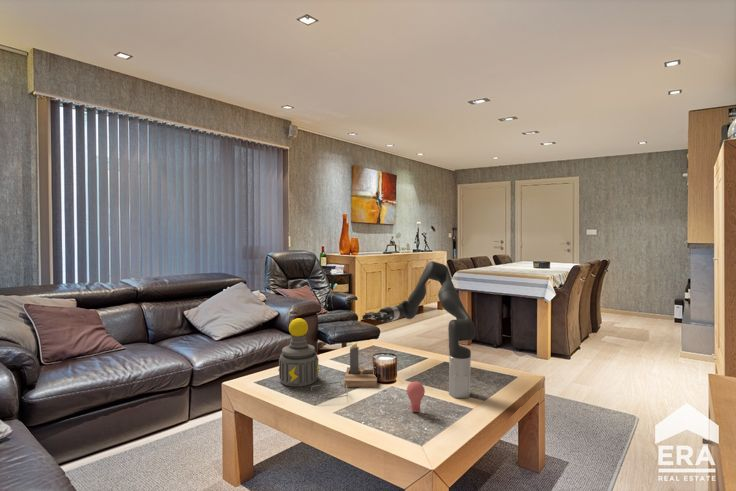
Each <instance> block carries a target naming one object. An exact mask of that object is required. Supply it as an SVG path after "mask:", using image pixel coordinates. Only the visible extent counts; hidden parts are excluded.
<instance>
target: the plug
mask: <svg viewBox="0 0 736 491" xmlns="http://www.w3.org/2000/svg"><path fill="white" fill-rule="evenodd" d="M349 348H350V349H349V353H350V354H349V367H350V374H359V367H360V360H359V359H360V352H359V351H360V347H359V346H358V343H356V342H354V343H353V342H352V344H351V346H350V347H349Z"/></svg>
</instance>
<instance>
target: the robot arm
mask: <svg viewBox="0 0 736 491" xmlns="http://www.w3.org/2000/svg"><path fill="white" fill-rule="evenodd" d="M429 280H432V281H436V282H439V283H440V286H441V287H440V289H439V291H438V295H437V297H438V299H439V302H440V305H441V307H442V308H443V309H444V310H445V311H446V312H447V313H448V314H450V315H451V316H453V317H454V318H455V319H451V320H449V323H448V329H447V330H448V349H449V356H448V360H449V361H448V364H449V365H448V394H449V395H450V396H452V397H453V398H454V399H469V397H470V396H471V366H472V365H471V363H472V359H471V358H472V351H471V349H470V348H468V347H465V346H462V345H460V343H459V342H461V341H463V342H465V341H467V342H468V341H471V340H474V339H475V338H476V334H477V333H476V326H475V324H474V322H473V320H472V319H471V316H470V315H469V313H468V312H467V310H466V308H465V307H464V305H463V303H462V300H461V298H460V296H459V293H458V291H457V290H456V288H455V284H454V283H453V280H452V277H451V273H450V271H449V268H448V267H447V265H446V264H443V263H440V262H436V261H429V262H428V263H426V265H425V267H424V269H423V271H422V273H421V275H420V277H419V280H418V282H417V283H416V286H415V288H414V290H412V292H411V293H410V294H409V296H408V299H407V300H403V301H401V302H400V303H399V304H397V305H393V306H392V305H391V306H386V307H382V308H381V309H379V311H376V312H374V311H369V312H365V313H364V314H363V315H362V320H363V321H364V320H369V319H370V320H372V321H373V320H374V321H375V322H377V323H378V322H383V323H389V322H393V321H395V320H399V319H402V318H403V317H404V318H406V319H407V320H412V319H413V318H415V317H416V315H417V313H418V311H419V307H420V304H421V303H422V302H423V300H424V299H425V297H426V295H427V282H428V281H429Z"/></svg>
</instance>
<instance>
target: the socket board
mask: <svg viewBox="0 0 736 491" xmlns="http://www.w3.org/2000/svg"><path fill="white" fill-rule="evenodd" d="M374 368H375V367H373V366H362V367H360V366H359V374H350V366H349V367H346V370H345V375H344V379H343V383H344V382H345V383H344V385H343V387H344V388H345V386H346V387H347V388H377V386H378V376H377V377H376V376H375V375H374V374H373V371H374Z"/></svg>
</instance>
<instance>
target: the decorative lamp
mask: <svg viewBox="0 0 736 491" xmlns="http://www.w3.org/2000/svg"><path fill="white" fill-rule="evenodd" d="M308 330H309V325H308V322H307V321H306V320H305V319H303V318H298V317H297V318H295V319H292V320H291V321H290V323H289V325H288V332H289V334H290V335H291V339H290V343H289V344H288V345H286V346H284V347H283V348H282V349H281V354H280V355H279V359H278V367H279V368H278V373H279V374H278V379H279V380H280V383H281V384H282V385H284V386H288V387H292V388H293V387H294V388H298V387H300V388H301V387H306V386H310V385H312V384H313V383H315V382H317V380H318V378H319V371H320V368H319V360H320V359H319V357H318V353H317V352H316V348H315V346H314V345H311V344H308V341H307V335H306V334H307V333H308Z"/></svg>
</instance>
